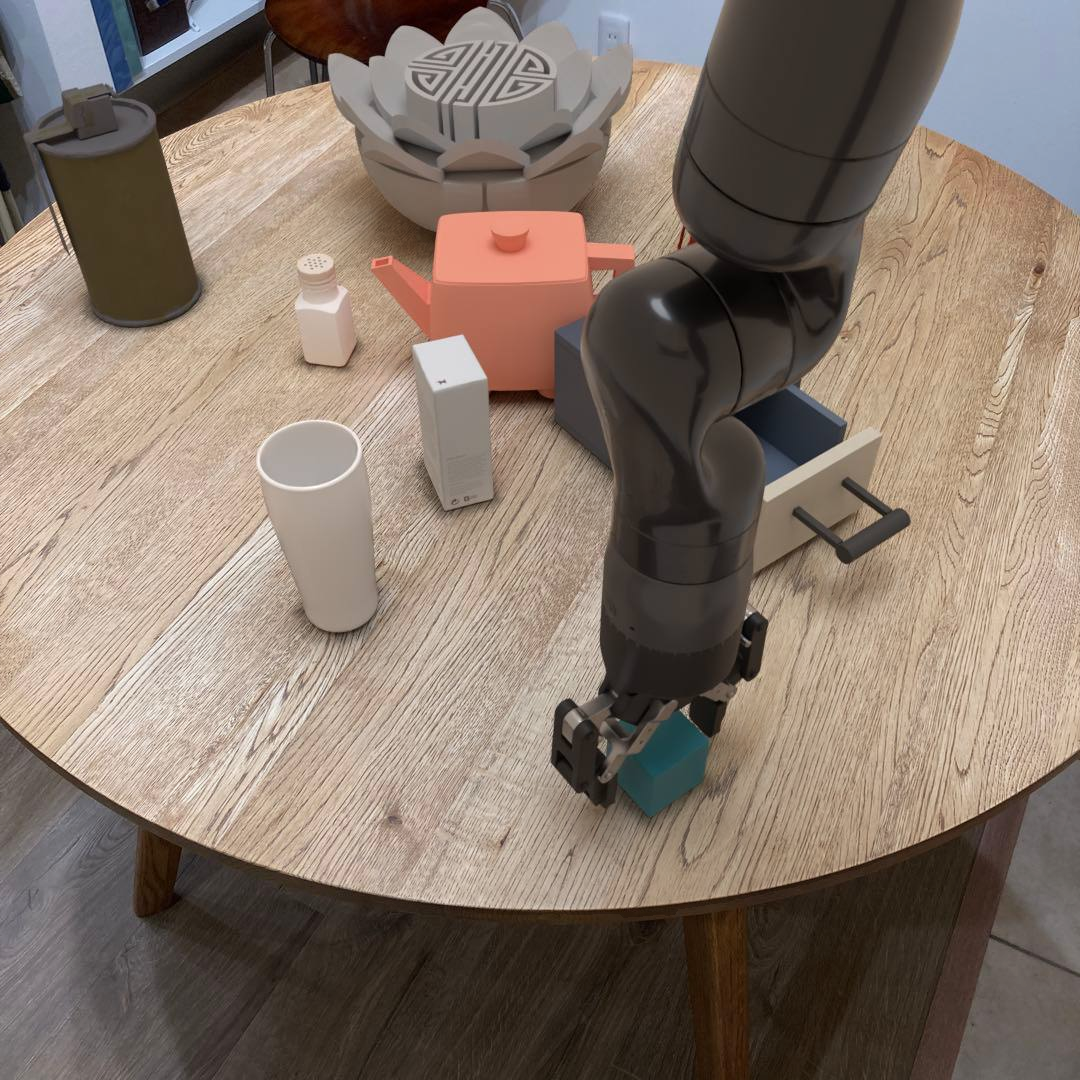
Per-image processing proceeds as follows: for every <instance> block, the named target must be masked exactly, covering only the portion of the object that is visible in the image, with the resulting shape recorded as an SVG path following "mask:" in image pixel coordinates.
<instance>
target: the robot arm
mask: <svg viewBox="0 0 1080 1080" xmlns="http://www.w3.org/2000/svg"><path fill="white" fill-rule="evenodd" d="M964 3H965V0H723V4H722V7H721V10H720V13H719V15H718V19H717V22H716V25H715V28H714V30H713V34H712V37H711V40H710V43H709V45H708V50H707V53H706V56H705V58H704V63H703V66H702V69H701V71H700V74H699V78H698V81H697V85H696V88H695V90H694V93H693V94H694V95H693V96H692V101H691V104H690V105H689V109H688V113H687V116H686V120H685V123H684V125H683V129H682V131H681V135H680V138H679V142H678V146H677V149H676V153H675V158H674V163H673V169H672V177H671V178H672V179H671V190H672V199H673V204H674V208H675V210H676V214H677V216H678V218H679V220H680V222H681V224H682V225H683V226H684V227H685V231H686V232H687V233H688V234H689V236H690V235H691V236H692V238H693V239H694V240H695V241H696V242H695V243H693V244H691V245H688V244H687V245H688V246H687V245H686V246H683V247H681V249H679V250H677V249H676V250H675V251H671V252H670V253H667V254H664V255H662V256H660V257H657V258H655V259H653V260H652V259H651V260H649V261H647V262H644V263H641V264H639V265H637V266H635V267H634V268H632V269H630V270H628V271H625V272H623V273H621V274H619V275H618V276H616V277H615V278H613V277H612V279H610V280H609V281H608V282H607V283H606V284H605V285H604V286H603V287H602V288H601V289H600V290H599V292H598V293H596V294H597V296H596V297H595V299H594V301H593V302H592V304H591V306H590V308H589V310H588V313H587V316H586V318H585V321H584V325H583V328H582V332H581V342H580V352H581V361H582V365H583V369H584V373H585V377H586V380H587V383H588V386H589V389H590V392H591V394H592V397H593V400H594V403H595V406H596V409H597V412H598V415H599V418H600V422H601V425H602V429H603V433H604V437H605V441H606V444H607V448H608V452H609V456H610V459H611V464H612V468H613V471H612V473H613V476H614V477H613V484H612V499H611V515H610V530H609V535H608V537H607V542H606V546H605V551H604V556H603V570H602V585H601V605H600V622H599V623H600V625H599V648H600V654H601V657H602V661H603V665H604V668H605V675H604V677H603V679H602V682H601V683H600V685H599V687H598V691H597V696H596V697H594V698H592V699H589V701H587V702H586V703H583V704H582V705H580V706H579V705H578V704H577V703H576V702H575V701H574V700H573V699H572V698H565V699H563V700H562V701H561V702H559V703H558V704H557V706H556V707H555V709H554V717H553V726H552V739H551V752H550V764H551V765H552V767H553V768H554V769H555V770H556V771H557V772H558V774H559V775H560V776H561V777H562V778H563V779H564V781H565V782H566V783H567V784H568V785H569V786H570V787H571V789H572V790H573V791H574V792H575V793H576V794H577V795H581V794H582V793H583V794H585V796H586V797H587V798H588V799H589V801H590V802H591V803H592V805H594V807H598V806H599V805H600V806H601V807H602V809H604V810H607V809H609V808H610V807H611V806H613V805H614V804H616V800H617V791H618V790H617V788H618V782H617V779H618V773H617V771H618V770H619V768H620V767H621V765H622V764H623V762H624V761H625V760H626V758H627V757H628V756H630V755H637V754H639V753H640V752H641V750H642V749H643V748H644V746H645V745H646V743H647V742H648V740H649V739H650V737H651V736H652V735H653V733H654V732H655V730H656V729H657V727H658V726H659V724H660V723H661V722H662V721H666V720H668V719H669V717H670V716H671V714H672V713H673V712H675V711H678V710H680V711H681V710H682V709H683V708H685V707H686V706H688V705H689V707H688V718H689V720H690V721H691V722H692V723H693V724H694V725H695V726H696V727H697V728H698V729H699V730H700V731H701V732H702V733H703V734H704V735H705V736H706V737H707V738H708V739H712V738H713V737H714V736H716V735H717V734H719V733H720V732H721V727H722V723H723V720H724V718H725V717H726V712H727V707H728V702H729V701H731V700H732V699H734V697H735V695H736V694H737V693H738V690H739V689H738V687H737V686H736V685H737V684H738V683H739V682H740V681H741V680H744V681H745V682H746V683H749V682H751V681H752V680H754V679H756V678H757V676H758V675H759V673H760V671H761V668H762V662H763V657H764V650H765V646H766V639H767V633H768V627H769V619H767V618H766V617H765V616H764V615H763V614H762V613H760V611H759V610H758V609H756V608H755V607H754V606H753V605H752V604H751V603H750V602H749V598H750V594H751V593H750V592H751V588H752V583H753V577H754V574H753V564H754V556H753V549H754V543H755V538H756V533H757V528H758V523H759V518H760V513H761V507H762V502H763V497H764V491H765V484H766V459H765V456H764V452H763V449H762V446H761V444H760V442H759V440H758V438H757V437H756V436H755V434H754V433H753V432H752V431H751V429H750V428H748V427H747V426H746V425H745V424H744V423H742V422H741V421H740V420H738V419H736V418H734V417H733V416H731V415H733V414H735V413H737V412H739V411H741V410H743V409H745V408H747V407H749V406H751V405H753V404H755V403H757V402H759V401H761V400H762V399H764V398H766V397H768V396H771V395H773V394H775V393H777V392H779V391H781V390H783V389H785V388H787V387H789V386H791V385H793V384H794V383H796V382H797V381H799V380H800V379H801V378H802V379H803V378H804V377H806V376H807V375H808V374H809V373H810V372H811V371H813V370H814V368H816V366H818V364H819V363H820V362H821V361H822V360H823V359H824V358H825V356H826V355H827V354H828V353H829V351H830V350H831V348H832V347H833V345H834V344H835V342H836V341H837V339H838V337H839V335H840V333H841V332H842V329H843V327H844V325H845V322H846V319H847V316H848V312H849V308H850V304H851V299H852V293H853V289H854V284H855V278H856V274H857V270H858V266H859V263H860V256H861V251H862V245H863V237H864V228H865V223H866V218H867V216H868V215H869V213H870V212H871V211H872V209H873V207H874V205H875V204H876V203H877V200H878V199H879V196H880V195H881V193H882V191H883V189H884V187H885V185H886V184H887V182H888V181H889V178H890V176H891V174H892V172H893V170H894V169H895V167H896V165H897V163H898V162H899V160H900V157H901V156H902V154H903V152H904V150H905V148H906V146H907V145H908V143H909V141H910V139H911V137H912V135H913V134H914V132H915V130H916V128H917V126H918V124H919V121H920V120H921V118H922V115H923V114H924V112H925V110H926V108H927V107H928V105H929V103H930V100H931V99H932V96H933V95H934V92H935V90H936V87H937V86H938V83H939V81H940V79H941V77H942V74H943V72H944V70H945V67H946V64H947V62H948V59H949V57H950V54H951V52H952V49H953V45H954V42H955V39H956V36H957V33H958V29H959V26H960V22H961V18H962V13H963V9H964V5H965V4H964ZM683 226H682V227H683ZM620 720H622V721H624V722H627V723H629V724H632V725H634V726H637V727H636V728H635V730H634V731H633V733H632V734H631V735H630V733H629V732H628V731H627V730H626V729H625V728H624V727H623V726H622V725H621V724H620V723H619V722H618V721H620ZM604 740H606V742H607V741H608V742H609V743H610V744H611V746H612V750H611V752H610V754H609V755H608V757H606V754H605V753H603V751H602V750H601V749H600V748H599V745H600V744H601V743H603V742H604Z"/></svg>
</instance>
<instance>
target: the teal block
mask: <svg viewBox="0 0 1080 1080" xmlns="http://www.w3.org/2000/svg"><path fill="white" fill-rule="evenodd" d="M617 721H618V722H619V723H620V724H621V725H622V726H623V727H624V728H625V729H626V730H627V731H628V732H629V733H630V735H631V734H632V733H633V731H634V730H635V728H636V727H637V726H634V725H632V724H629V723H627V722H624V721H622V720H617ZM710 743H711V739H710V738H709V737H707V736H706V735H705V734H704V733H703V732H702V731H701V730H700V729H699V728H698V727H697V726H696V725H695V724H694V723H693V722H692V721H691V719H690V718H689V717H687V716H686V714H684V712H682V711H681V709H680V710H678V711H675V712H673V713H672V714H671V716H670V717H669V719H668V720H666V721H662V722H661V723H660V724H659V726H658V727H657V729H656V730H655V732H654V733H653V735H652V736H651V737H650V739H649V740H648V742H647V743H646V745H645V746H644V748H643V749H642V750H641V752H640V753H639V754H637V755H630V756H628V757H627V758H626V760H625V761H624V762H623V764H622V765H621V767H620V768H619V770H618V771H617V773H618V779H617V785H619V786H620V788H622V789H623V790H624V792H625V793H626V794H627V795H628V796H629V797H630V798H631V800H633V802H634V803H635V804H636V805H637V806H638V807H639V808H640V809H641V811H642V812H643V813H644V814H645V815H646V816H647V818H649V819H651V818H653V817H654V816H655V815H657V814H659V813H660V812H661V811H662V810H664V809H666V807H668V806H670V805H671V804H673V803H674V802H675V801H677V800H678V799H680V798H681V797H682V796H684V795H685V794H686V793H688V792H690V791H691V790H692V789H694V788H695V787H697V786H698V785H699V784H701V783H703V781H704V777H705V772H706V771H705V770H706V765H707V760H708V754H709V750H710ZM611 750H612V746H611V744H610V743H609V742H608V741H607V740H606V752H605V756H606V757H608V755H609V754H610V752H611Z"/></svg>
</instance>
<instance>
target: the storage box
mask: <svg viewBox="0 0 1080 1080" xmlns="http://www.w3.org/2000/svg"><path fill="white" fill-rule="evenodd" d="M585 318H586V317H583V318H581V319H579V320H577V321H575V322H572V323H570V324H568V325H566V326H563V327H561V328H559V329H557V330H555V331H554V339H555V340H554V398H553V401H554V404H553V406H554V407H553V409H554V422H555V423H557V424H558V425H559V426H560V427H561V428H562V429H564V430H565V432H567V433H568V434H569V435H571V436H572V437H573V438H574V439H575V440H576V441H577V442H579V443H580V444H581V445H582V446H583V447H584V448H585V449H586V450H588V451H589V452H590V453H591V454H593V456H595V457H596V458H597V459H598V461H600V462H602V464H604V465H605V466H606V467H607V468H608V469H609V470H611V471H612V472H613V468H612V464H611V459H610V456H609V452H608V448H607V444H606V441H605V437H604V433H603V429H602V425H601V422H600V418H599V415H598V412H597V409H596V406H595V403H594V400H593V397H592V394H591V392H590V389H589V386H588V383H587V380H586V377H585V373H584V369H583V365H582V361H581V352H580V342H581V332H582V328H583V325H584V321H585ZM802 380H803V378H801V379H800V380H799V381H797V382H796V383H794V384H793V385H795V386H796V387H798V388H799V389H800V390H801V385H802Z"/></svg>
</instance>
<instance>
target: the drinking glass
mask: <svg viewBox="0 0 1080 1080" xmlns="http://www.w3.org/2000/svg"><path fill="white" fill-rule="evenodd" d="M360 439H361V438H359V436H358V435H357V434H356V432H354V431H353V430H352V429H351V428H349V427H348V426H346V425H344V424H342V423H340V422H336V421H333V420H326V419H306V420H305V419H304V420H300V421H296V422H293V423H289V424H287V425H285V426H283V427H281V428H278V429H277V430H275V431H274V432H272V433H271V434H270V435H268V436H267V437H266V438H265V440H264V441H262V443H261V445H260V446H259V448H258V450H257V452H256V456H255V467H256V471H257V476H258V481H259V486H260V491H261V494H262V498H263V503H264V505H265V508H266V511H267V515H268V517H269V521H270V523H271V526H272V528H273V531H274V533H275V536H276V538H277V541H278V543H279V546H280V548H281V550H282V553H283V556H284V558H285V560H286V564H287V566H288V569H289V570H290V574H291V576H292V578H293V581H294V584H295V586H296V588H297V591H298V594H299V596H300V600H301V603H302V607H303V611H304V614H305V616H306V618H307V619H308V621H309V622H310V623H311V624H312V625H314V626H315V627H316V628H318V629H320V630H322V631H325V632H330V633H345V632H350V631H353V630H356V629H358V628H360V627H362V626H363V625H365V624H367V622H368V621H370V620H371V619H372V618H373V616H374V614H375V613H376V611H377V608H378V605H379V598H380V597H379V590H378V583H377V576H376V558H375V542H374V522H373V521H374V518H373V502H372V491H371V490H372V489H371V482H370V477H369V471H368V466H367V461H366V457H365V454H364V453H365V452H364V449H363V445H362V442H361V440H360Z"/></svg>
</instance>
